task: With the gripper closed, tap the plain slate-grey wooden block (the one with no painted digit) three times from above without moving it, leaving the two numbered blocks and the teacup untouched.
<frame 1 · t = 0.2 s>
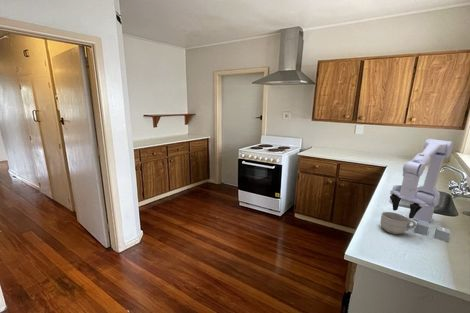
hand: (402, 213, 108), 10 cm above the table, fingers open, 7 cm apart
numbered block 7: (402, 226, 116), on the table
teacup: (395, 232, 111), on the table
plain block: (420, 232, 112), on the table
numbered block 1: (440, 238, 107), on the table
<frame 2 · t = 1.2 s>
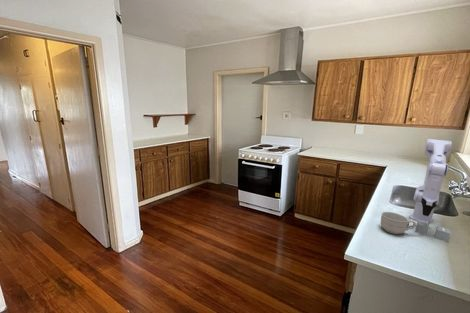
hand: (425, 214, 109), 9 cm above the table, fingers closed
nothing on the table moved.
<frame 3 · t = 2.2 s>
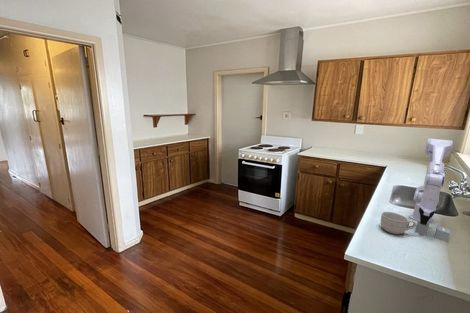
hand: (423, 223, 110), 4 cm above the table, fingers closed, pressing on plain block
plain block: (420, 232, 112), on the table, touching gripper
everything else where it was.
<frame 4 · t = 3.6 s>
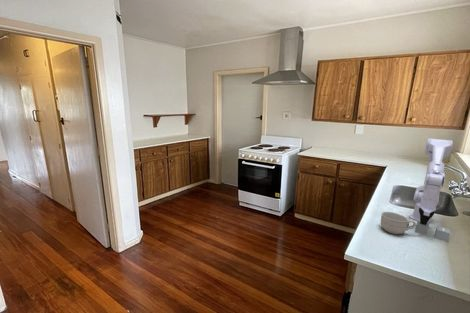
hand: (423, 224, 110), 4 cm above the table, fingers closed, pressing on plain block
plain block: (420, 232, 111), on the table, touching gripper
everything else where it was.
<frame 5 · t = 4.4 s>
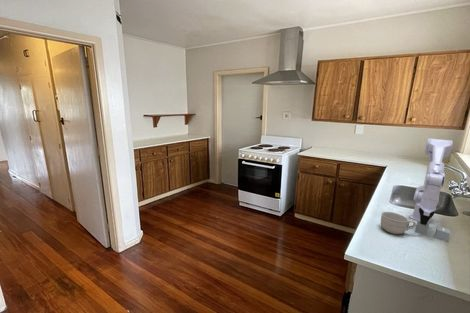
hand: (423, 223, 110), 4 cm above the table, fingers closed, pressing on plain block
plain block: (420, 232, 111), on the table, touching gripper
everything else where it was.
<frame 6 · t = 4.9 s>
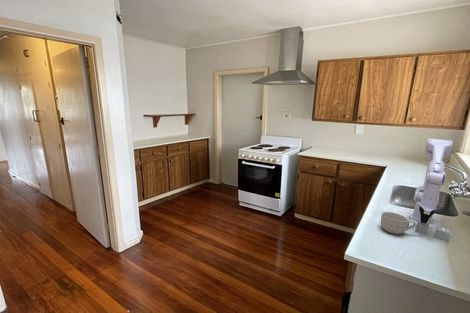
hand: (423, 222, 110), 5 cm above the table, fingers closed
plain block: (420, 232, 111), on the table
everything else where it was.
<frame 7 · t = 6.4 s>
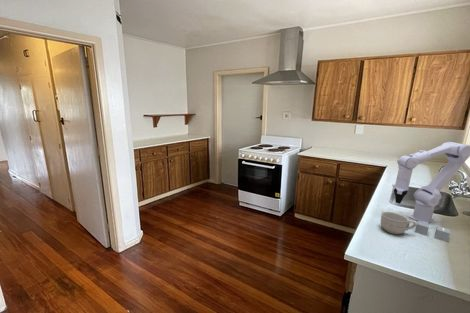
hand: (397, 202, 121), 9 cm above the table, fingers closed
nothing on the table moved.
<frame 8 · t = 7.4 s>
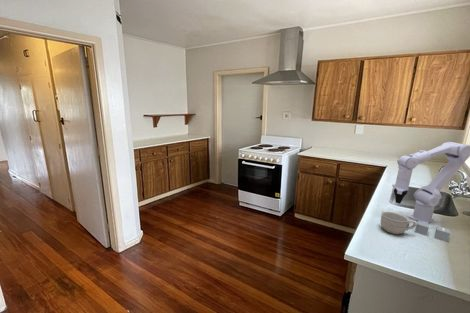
hand: (397, 202, 121), 9 cm above the table, fingers closed
nothing on the table moved.
at the end: plain block moved 0.4 cm from its start; plain block tilted 0°; teacup moved 0.3 cm from its start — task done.
